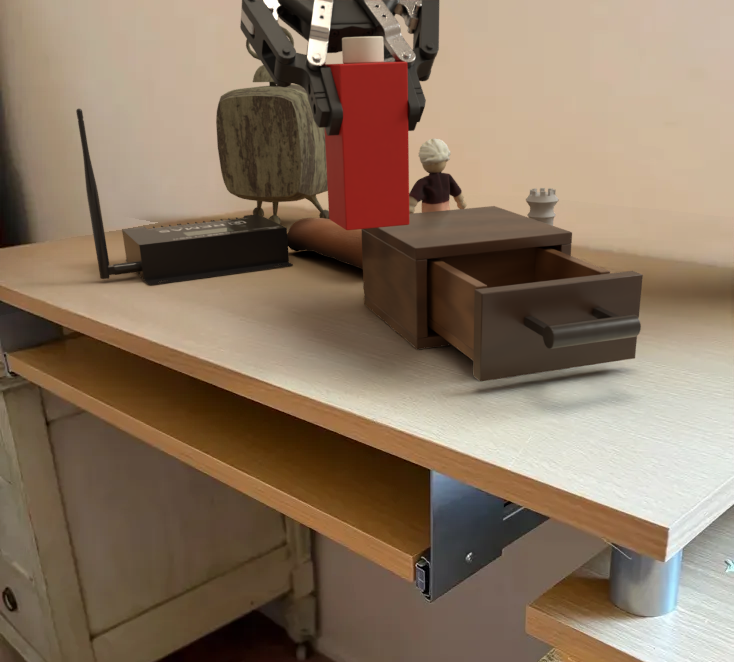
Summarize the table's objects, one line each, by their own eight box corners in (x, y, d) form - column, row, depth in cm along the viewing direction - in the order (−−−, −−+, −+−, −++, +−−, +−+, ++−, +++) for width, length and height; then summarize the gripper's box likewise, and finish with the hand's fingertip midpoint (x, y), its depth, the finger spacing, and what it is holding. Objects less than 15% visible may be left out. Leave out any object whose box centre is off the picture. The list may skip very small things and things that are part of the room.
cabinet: (566, 329, 66) (572, 232, 63) (417, 350, 63) (415, 248, 60) (492, 289, 79) (494, 205, 76) (363, 304, 75) (360, 217, 72)
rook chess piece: (512, 273, 84) (515, 192, 81) (521, 263, 88) (524, 186, 85) (557, 275, 82) (561, 193, 79) (564, 265, 86) (569, 186, 83)
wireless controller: (255, 243, 102) (242, 96, 96) (294, 265, 91) (283, 98, 84) (88, 264, 95) (62, 105, 88) (107, 291, 83) (78, 110, 76)
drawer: (673, 378, 53) (683, 289, 51) (509, 405, 50) (512, 311, 48) (546, 311, 68) (549, 239, 66) (413, 328, 65) (412, 253, 63)
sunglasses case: (438, 263, 86) (410, 212, 83) (391, 307, 85) (361, 257, 81) (347, 238, 101) (319, 193, 97) (305, 276, 99) (276, 231, 95)
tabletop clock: (343, 220, 115) (334, 22, 105) (313, 233, 107) (300, 20, 98) (254, 216, 120) (237, 28, 111) (219, 228, 113) (198, 27, 103)
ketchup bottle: (388, 214, 59) (384, 37, 54) (410, 224, 55) (407, 35, 50) (328, 219, 58) (319, 39, 53) (346, 230, 54) (338, 37, 49)
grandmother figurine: (445, 251, 95) (444, 134, 90) (470, 255, 92) (471, 136, 87) (396, 263, 90) (394, 141, 85) (422, 268, 87) (421, 143, 82)
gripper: (216, -122, 53) (267, 85, 47) (426, -118, 56) (498, 75, 50) (214, -21, 60) (258, 171, 54) (401, -23, 63) (462, 156, 57)
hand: (374, 123), depth 52 cm, fingers closed on ketchup bottle, 4 cm apart
